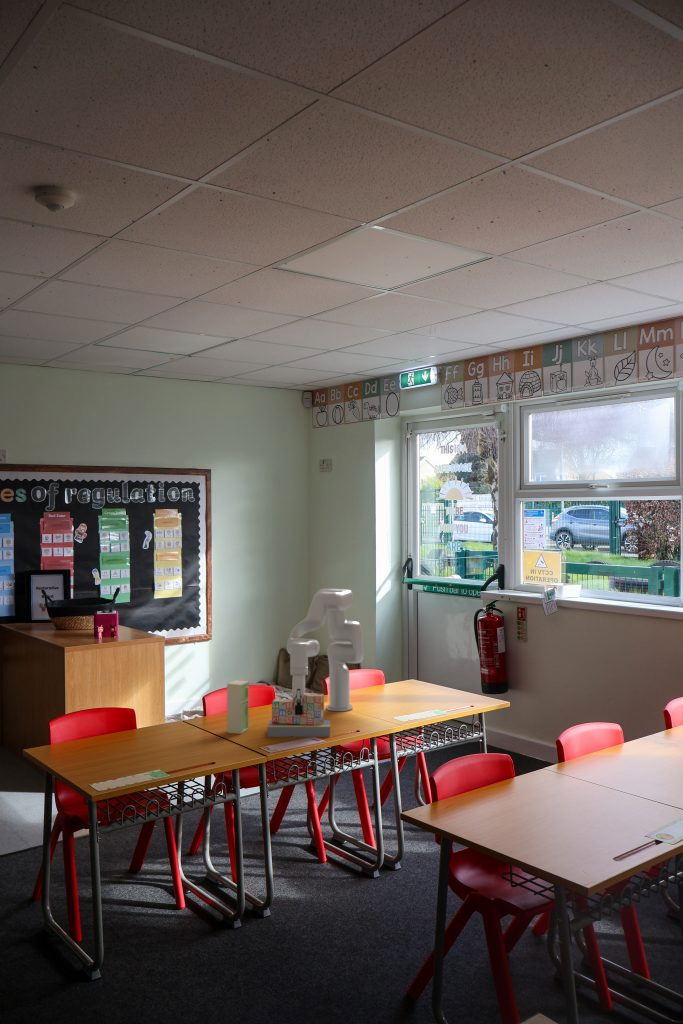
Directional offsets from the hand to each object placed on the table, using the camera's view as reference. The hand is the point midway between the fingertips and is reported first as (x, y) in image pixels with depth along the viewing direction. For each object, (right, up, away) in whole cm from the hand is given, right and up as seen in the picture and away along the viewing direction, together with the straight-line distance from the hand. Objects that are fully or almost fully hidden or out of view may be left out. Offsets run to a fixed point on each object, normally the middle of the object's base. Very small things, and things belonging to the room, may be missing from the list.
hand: (299, 712), depth 362 cm
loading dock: (0, -9, 0) cm, 9 cm away
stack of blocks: (-1, -5, 0) cm, 5 cm away
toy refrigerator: (-26, -9, +3) cm, 28 cm away
